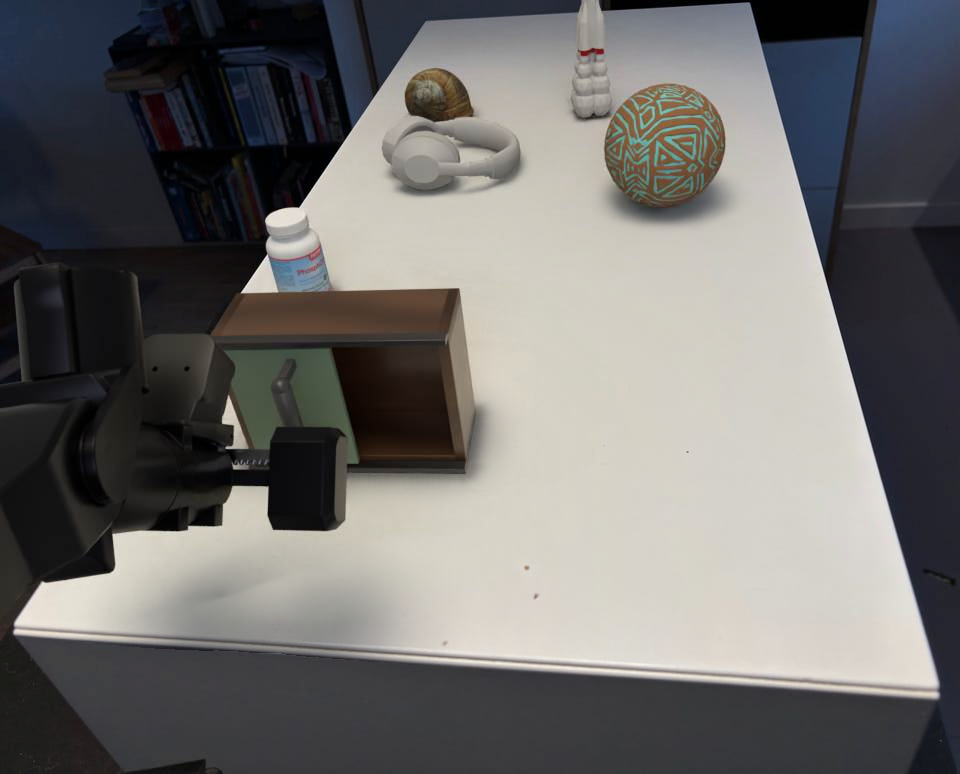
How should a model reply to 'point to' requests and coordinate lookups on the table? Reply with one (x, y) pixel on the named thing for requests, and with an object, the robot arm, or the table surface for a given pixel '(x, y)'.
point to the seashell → (437, 96)
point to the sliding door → (289, 392)
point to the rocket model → (590, 63)
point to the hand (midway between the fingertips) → (253, 476)
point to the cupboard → (376, 367)
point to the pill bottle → (295, 252)
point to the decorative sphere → (664, 145)
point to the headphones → (447, 150)
